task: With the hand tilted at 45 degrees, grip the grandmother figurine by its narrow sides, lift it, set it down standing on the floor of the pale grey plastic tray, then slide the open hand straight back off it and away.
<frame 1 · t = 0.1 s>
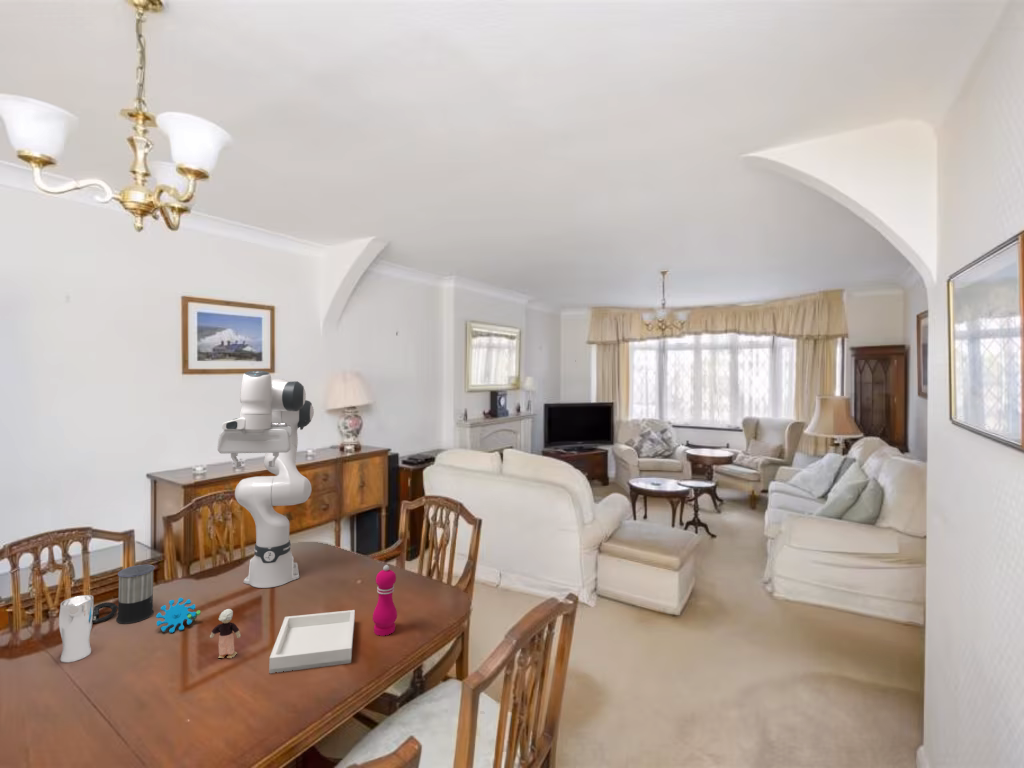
hand: (255, 467, 148), 48 cm above the table, tool pointing down, fingers open, 8 cm apart
milk frother: (120, 618, 148), on the table
grandmother figurine: (225, 656, 130), on the table
pepper mill: (384, 631, 145), on the table
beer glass: (75, 656, 128), on the table
gear: (178, 627, 144), on the table
tray: (315, 645, 136), on the table
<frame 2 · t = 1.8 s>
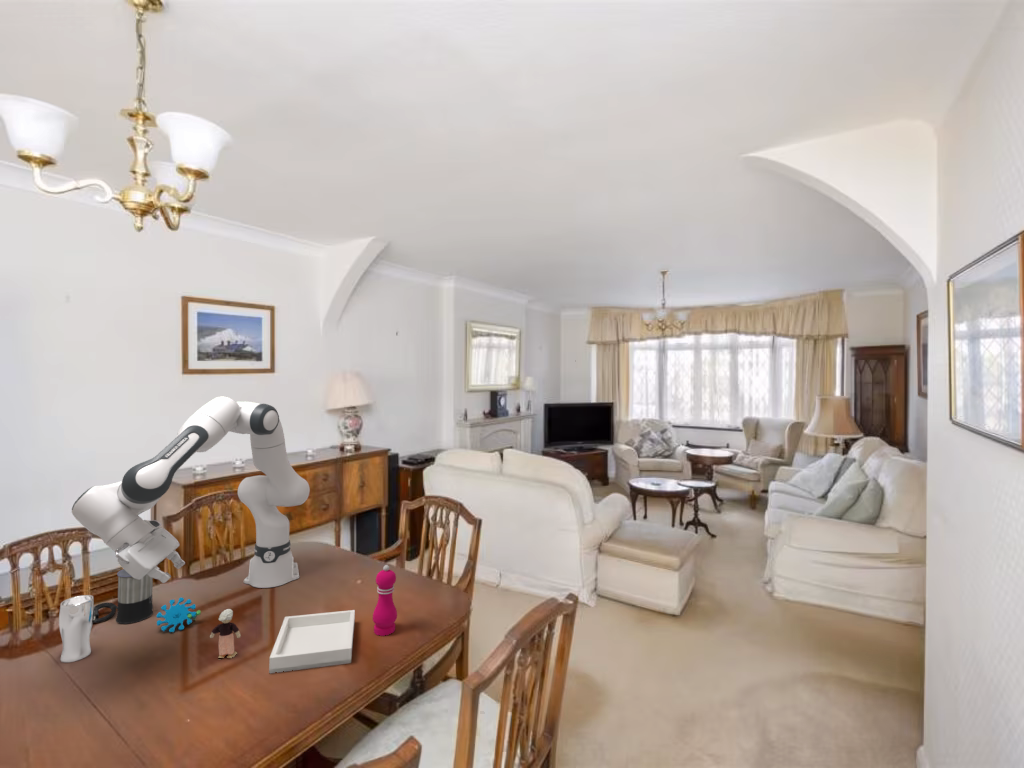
hand: (175, 572, 126), 24 cm above the table, tool tilted 45°, fingers open, 8 cm apart
nothing on the table moved.
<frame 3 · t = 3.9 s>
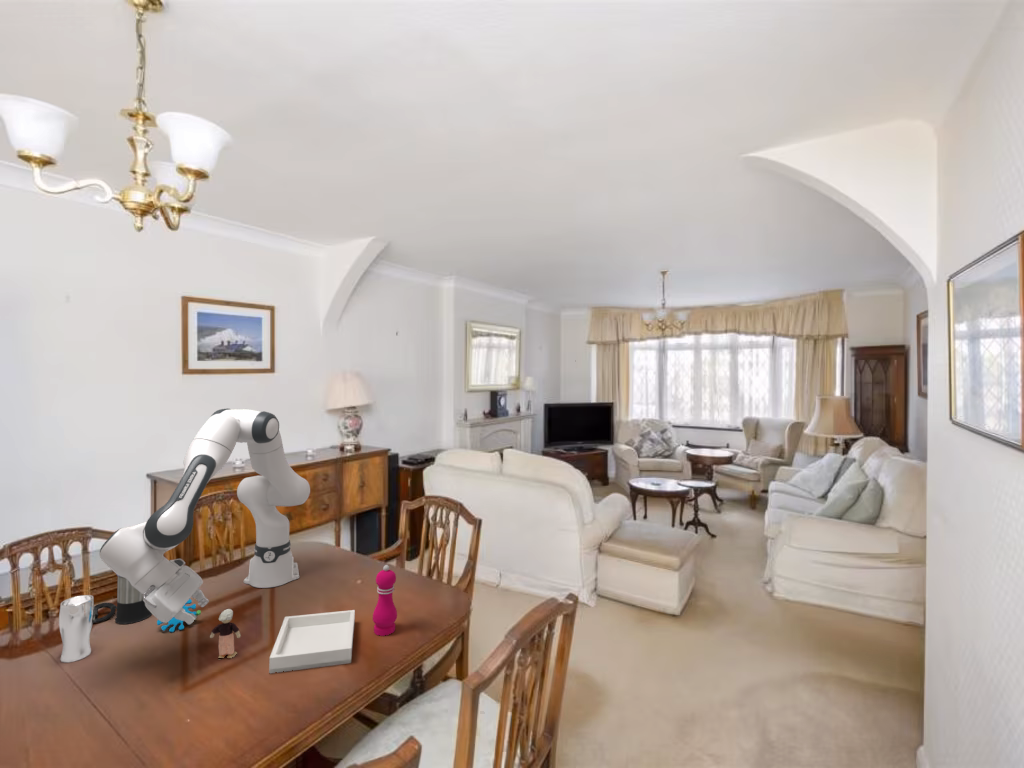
hand: (200, 612, 128), 13 cm above the table, tool tilted 45°, fingers open, 8 cm apart
nothing on the table moved.
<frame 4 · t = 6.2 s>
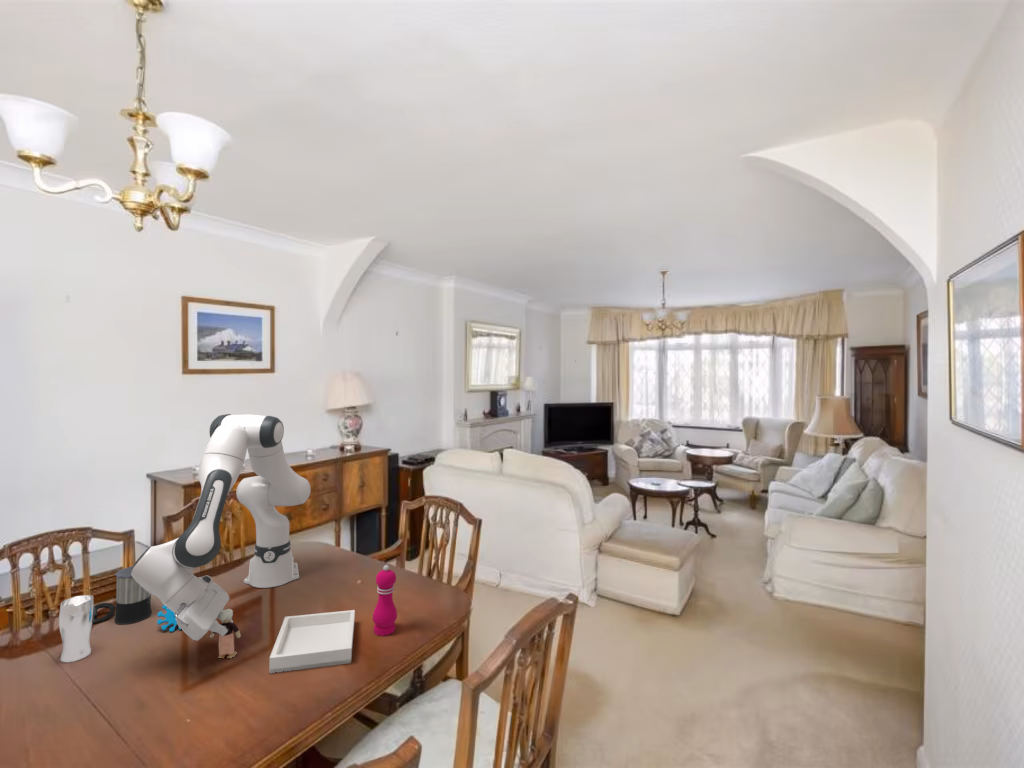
hand: (228, 628, 130), 7 cm above the table, tool tilted 45°, fingers closed on grandmother figurine, 2 cm apart
grandmother figurine: (225, 656, 130), on the table, touching gripper
everything else where it was.
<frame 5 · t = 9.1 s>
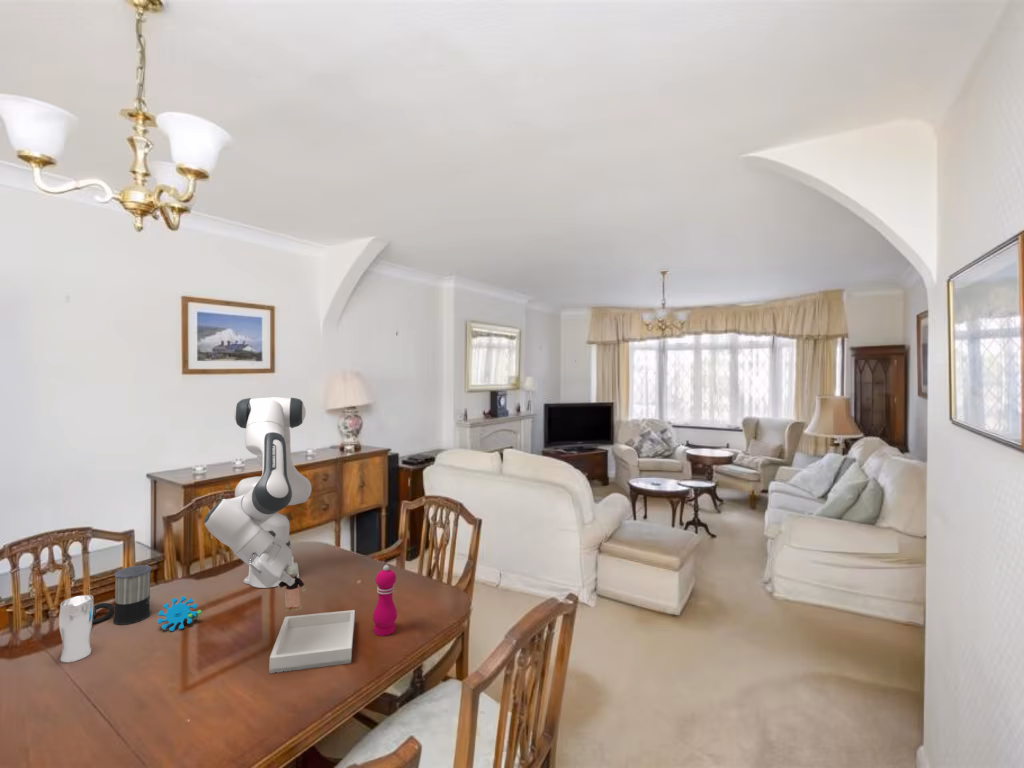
hand: (294, 580, 134), 19 cm above the table, tool tilted 45°, fingers closed on grandmother figurine, 2 cm apart
grandmother figurine: (291, 609, 135), point 11 cm above the table, touching gripper
when the fingers open (9 cm above the table, at t = 12.7 s): grandmother figurine stays where it is, resting on tray.
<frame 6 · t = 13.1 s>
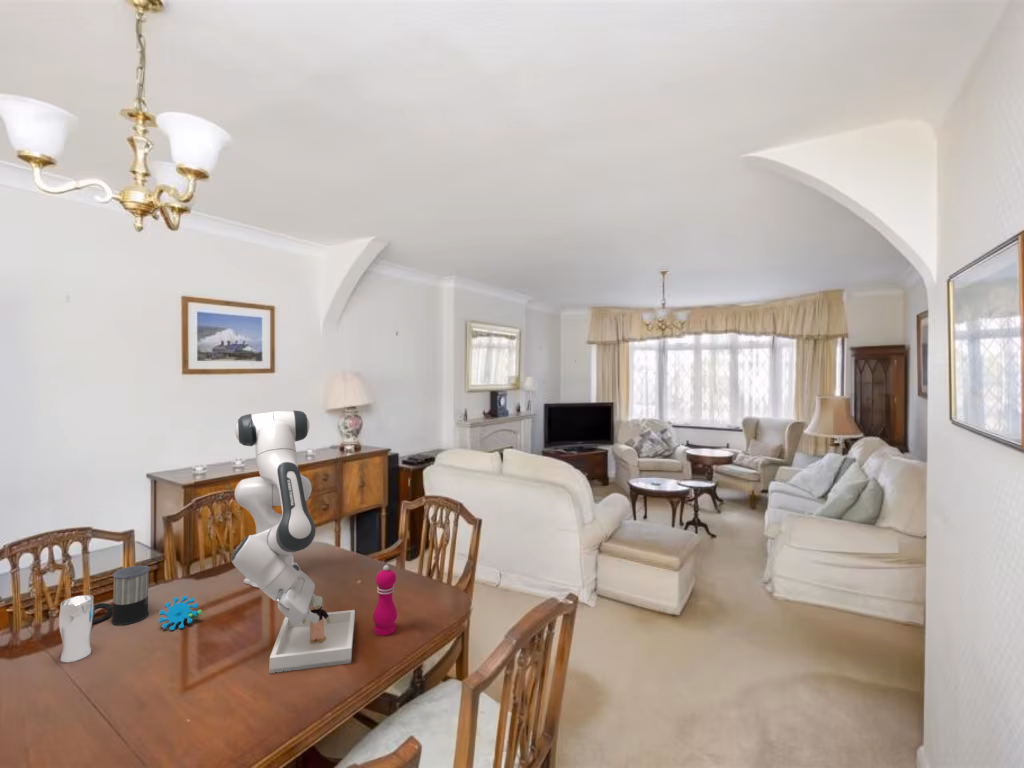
hand: (319, 614, 136), 9 cm above the table, tool tilted 45°, fingers open, 6 cm apart
grandmother figurine: (315, 641, 137), point 1 cm above the table, touching tray
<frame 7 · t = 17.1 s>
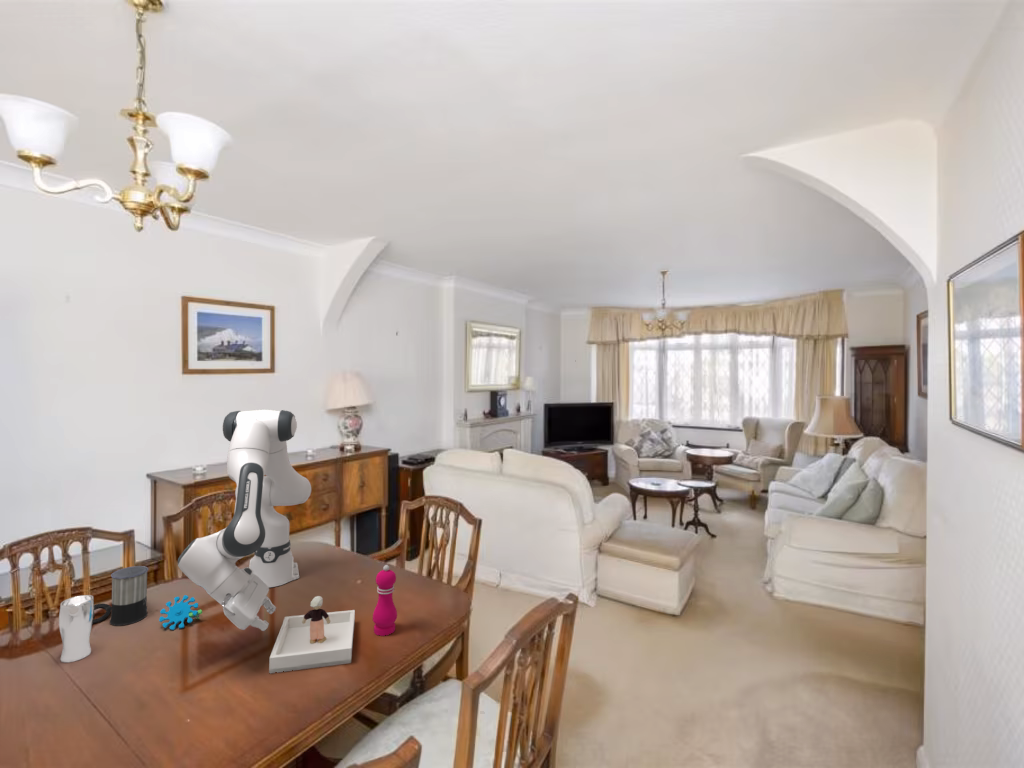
hand: (270, 619, 133), 9 cm above the table, tool tilted 45°, fingers open, 8 cm apart
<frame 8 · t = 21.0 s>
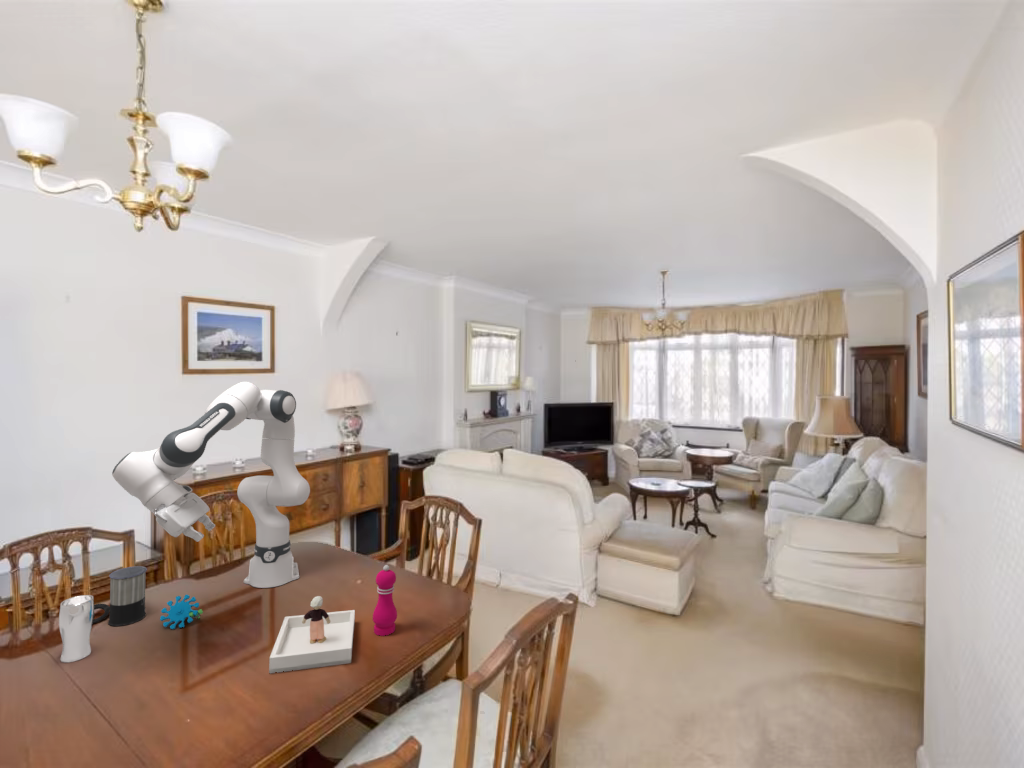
hand: (207, 533, 135), 31 cm above the table, tool tilted 45°, fingers open, 8 cm apart
at the end: grandmother figurine inside the target area on the tray (0.7 cm from its centre), point 0.8 cm above the tray's base; grandmother figurine tilted 0°; the gripper is holding nothing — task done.
